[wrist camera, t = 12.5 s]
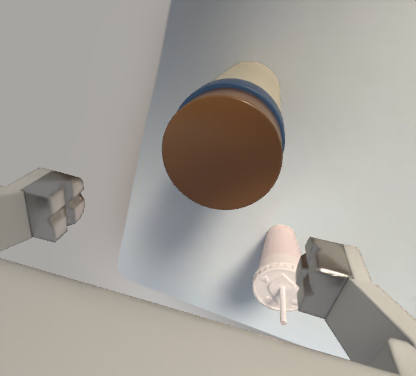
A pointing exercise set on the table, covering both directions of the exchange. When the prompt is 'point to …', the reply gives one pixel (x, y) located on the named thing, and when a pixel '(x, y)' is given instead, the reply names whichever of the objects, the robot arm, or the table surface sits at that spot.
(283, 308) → the smoothie
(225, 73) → the bottle
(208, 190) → the brown lid
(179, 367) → the robot arm
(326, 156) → the table surface
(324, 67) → the table surface
